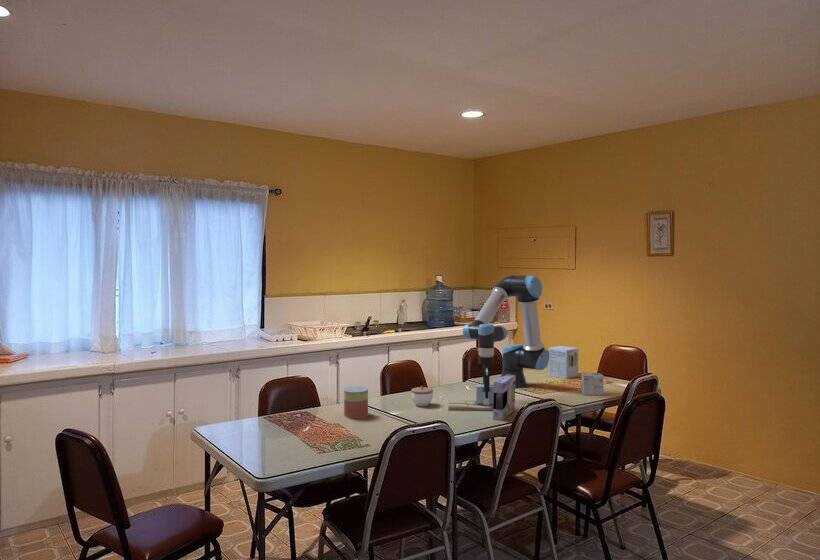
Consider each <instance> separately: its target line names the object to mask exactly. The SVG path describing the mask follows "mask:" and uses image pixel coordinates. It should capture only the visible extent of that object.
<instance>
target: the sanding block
mask: <svg viewBox="0 0 820 560" xmlns="http://www.w3.org/2000/svg"><path fill="white" fill-rule="evenodd" d="M475 387H476V388H475V395H476V396H475V401H476V405H484V392H483V390H484V385H483V384H475ZM489 389H490V391H489V405H493V391H494V384H489Z"/></svg>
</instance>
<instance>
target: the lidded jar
mask: <svg viewBox="0 0 820 560" xmlns="http://www.w3.org/2000/svg"><path fill="white" fill-rule="evenodd" d="M410 390H411V398H412V399H411V400H412V402H413V403H414V404H415V405H416V406H417V407H428V406H429V404H430V403H431V402H432V400H433V397H434V396H433V395H434V394H433V392H434V389H433V388H431V387H428V386H427V387H426V386H425V387H424V386H423V385H420V386H419V387H418V386H417V387H414V388H411V389H410Z"/></svg>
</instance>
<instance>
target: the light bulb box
mask: <svg viewBox="0 0 820 560" xmlns="http://www.w3.org/2000/svg"><path fill="white" fill-rule="evenodd" d="M604 388H605V387H604V375H603V374H602V373H599V372H598V373H597V372H596V373H593V372H591V373H589V372H586V373H585V372H581V394H582V393H583V394H582V395H583V396H604V395H605V394H604V393H605V392H604Z"/></svg>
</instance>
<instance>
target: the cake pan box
mask: <svg viewBox="0 0 820 560" xmlns="http://www.w3.org/2000/svg"><path fill="white" fill-rule="evenodd" d="M493 385H494V391H493V411H492V420H495V419H498V420H497V421H503V420H504V419H505V418H507V417H508V416H509V415H511V414H512V413H514V411H515V404H516V400H515V399H516V387H515V375H511V374H506V375H505V376H503V377H501V376H500V377H499V378H498V379H496V380H494V381H493ZM502 419H503V420H502Z"/></svg>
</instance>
